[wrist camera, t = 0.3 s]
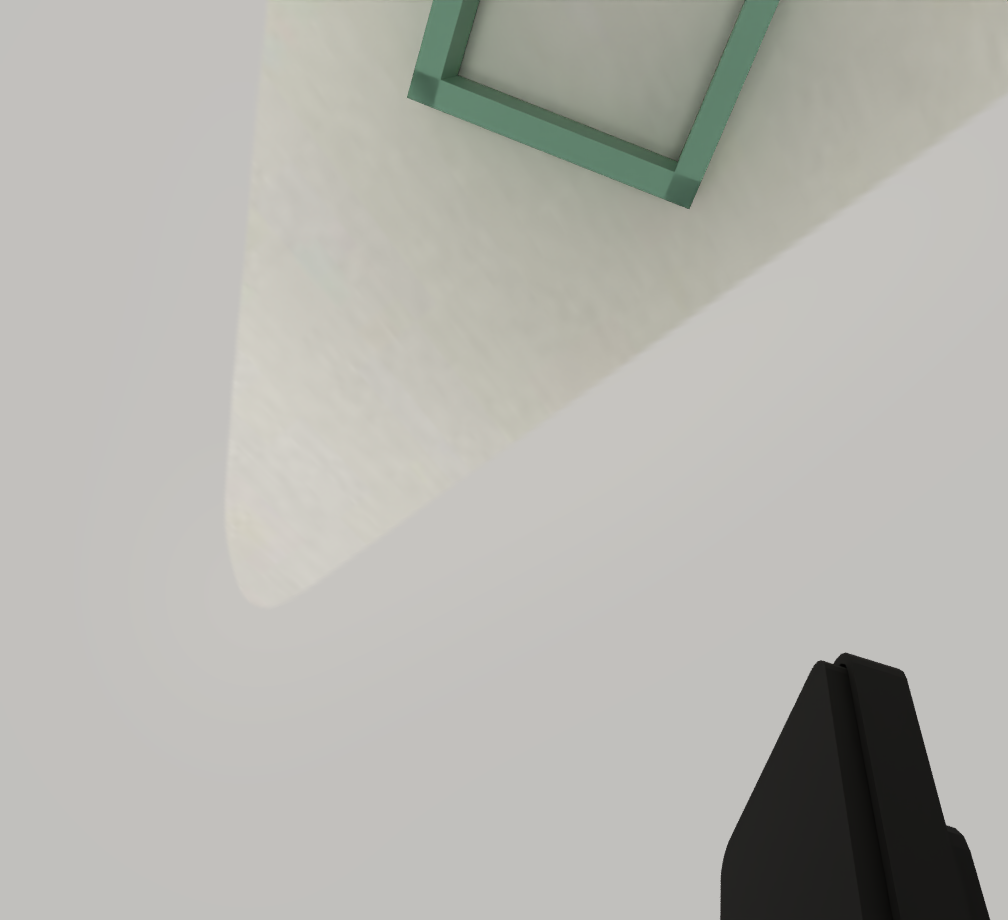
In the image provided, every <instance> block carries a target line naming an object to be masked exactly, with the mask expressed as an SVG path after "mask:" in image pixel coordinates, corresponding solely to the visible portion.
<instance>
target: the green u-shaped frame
mask: <svg viewBox="0 0 1008 920" xmlns="http://www.w3.org/2000/svg"><path fill="white" fill-rule="evenodd" d="M779 1H780V0H745V1H744V4H743V6H742V9H741V11H740V13H739V16H738V18H737V21H736V23H735V25H734V28H733V30H732V33H731V35H730V37H729V40H728V42H727V45H726V47H725V49H724V52H723V54H722V57H721V59H720V61H719V64H718V66H717V69H716V71H715V73H714V76H713V78H712V81H711V83H710V85H709V88H708V90H707V93H706V95H705V97H704V100H703V102H702V105H701V107H700V109H699V112H698V114H697V117H696V119H695V121H694V124H693V126H692V129H691V131H690V133H689V136H688V138H687V141H686V143H685V145H684V148H683V150H682V153H681V155H680V157H679V160H678V162H677V161H674V160H672V159H669V158H667V157H664V156H662V155H659V154H657V153H654V152H652V151H649V150H646V149H644V148H641V147H639V146H636V145H634V144H631V143H629V142H626V141H624V140H621V139H619V138H616V137H613V136H611V135H608V134H606V133H603V132H601V131H598V130H596V129H593V128H591V127H588V126H586V125H583V124H580V123H578V122H575V121H573V120H570V119H568V118H565V117H563V116H560V115H558V114H555V113H553V112H550V111H547V110H545V109H542V108H540V107H537V106H535V105H532V104H530V103H527V102H525V101H522V100H520V99H517V98H514V97H512V96H509V95H507V94H504V93H502V92H499V91H497V90H494V89H492V88H489V87H487V86H484V85H481V84H479V83H476V82H474V81H471V80H469V79H466V78H464V77H461V76H459V75H458V72H459V69H460V66H461V62H462V59H463V55H464V52H465V48H466V45H467V42H468V38H469V35H470V31H471V28H472V24H473V21H474V18H475V14H476V11H477V7H478V4H479V0H433V3H432V7H431V11H430V14H429V18H428V22H427V25H426V29H425V33H424V36H423V40H422V44H421V48H420V51H419V55H418V59H417V62H416V66H415V70H414V74H413V77H412V81H411V85H410V88H409V92H408V96H407V98H409V99H412V100H414V101H417V102H419V103H422V104H424V105H427V106H429V107H432V108H435V109H437V110H440V111H442V112H445V113H447V114H450V115H452V116H455V117H457V118H460V119H462V120H465V121H467V122H470V123H472V124H475V125H477V126H480V127H483V128H485V129H488V130H490V131H493V132H495V133H498V134H500V135H503V136H505V137H508V138H510V139H513V140H515V141H518V142H520V143H523V144H526V145H528V146H531V147H533V148H536V149H538V150H541V151H543V152H546V153H548V154H551V155H553V156H556V157H558V158H561V159H563V160H566V161H569V162H571V163H574V164H576V165H579V166H581V167H584V168H586V169H589V170H591V171H594V172H596V173H599V174H601V175H604V176H606V177H609V178H611V179H614V180H617V181H619V182H622V183H624V184H627V185H629V186H632V187H634V188H637V189H639V190H642V191H644V192H647V193H649V194H652V195H654V196H657V197H660V198H662V199H665V200H667V201H670V202H672V203H675V204H677V205H680V206H682V207H685V208H687V209H690V206H691V204H692V202H693V199H694V197H695V195H696V192H697V190H698V188H699V186H700V183H701V181H702V179H703V176H704V174H705V172H706V169H707V167H708V165H709V162H710V160H711V158H712V155H713V153H714V151H715V149H716V146H717V144H718V142H719V139H720V137H721V135H722V132H723V130H724V128H725V125H726V123H727V121H728V119H729V116H730V114H731V112H732V109H733V107H734V105H735V102H736V100H737V98H738V95H739V93H740V91H741V88H742V86H743V84H744V82H745V79H746V77H747V75H748V72H749V70H750V68H751V65H752V63H753V61H754V58H755V56H756V54H757V52H758V49H759V47H760V45H761V42H762V40H763V38H764V35H765V33H766V31H767V28H768V26H769V24H770V21H771V19H772V17H773V15H774V12H775V10H776V8H777V5H778V3H779Z"/></svg>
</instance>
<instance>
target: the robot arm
mask: <svg viewBox="0 0 1008 920" xmlns="http://www.w3.org/2000/svg"><path fill="white" fill-rule="evenodd" d="M720 920H990V918H989V914H988V911H987V908H986V904H985V901H984V897H983V894H982V890H981V887H980V883H979V880H978V876H977V873H976V869H975V866H974V862H973V859H972V856H971V852H970V850H969V847H968V845H967V842H966V840H965V838H964V836H963V835H962V834H961V833H960V832H959V831H958V830H957V829H956V828H953V827H950V826H947V825H946V824H945V820H944V816H943V813H942V809H941V805H940V801H939V797H938V794H937V790H936V786H935V783H934V779H933V775H932V771H931V768H930V764H929V760H928V756H927V753H926V749H925V745H924V742H923V738H922V734H921V730H920V726H919V723H918V719H917V715H916V711H915V708H914V704H913V700H912V697H911V693H910V689H909V685H908V681H907V678H906V676H905V674H904V672H903V671H901V670H900V669H897V668H894V667H891V666H887V665H884V664H881V663H878V662H874V661H871V660H868V659H865V658H861V657H858V656H855V655H852V654H848V653H843V654H841V655H840V656H839V657H838V658H837V659H836V661H835V662H834V664H831V663H828V662H825V661H818V662H817V663H816V664H815V665H814V667H813V668H812V670H811V672H810V674H809V676H808V678H807V680H806V682H805V684H804V686H803V689H802V691H801V693H800V695H799V697H798V699H797V701H796V703H795V705H794V707H793V709H792V711H791V713H790V715H789V718H788V720H787V722H786V724H785V726H784V728H783V730H782V732H781V734H780V736H779V738H778V740H777V742H776V744H775V747H774V749H773V751H772V753H771V755H770V757H769V759H768V761H767V763H766V765H765V767H764V769H763V771H762V773H761V776H760V778H759V780H758V782H757V784H756V786H755V788H754V790H753V792H752V794H751V796H750V798H749V800H748V803H747V805H746V807H745V809H744V811H743V813H742V815H741V817H740V819H739V821H738V823H737V825H736V827H735V829H734V832H733V834H732V836H731V838H730V840H729V842H728V845H727V848H726V851H725V855H724V859H723V864H722V870H721V916H720Z"/></svg>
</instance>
